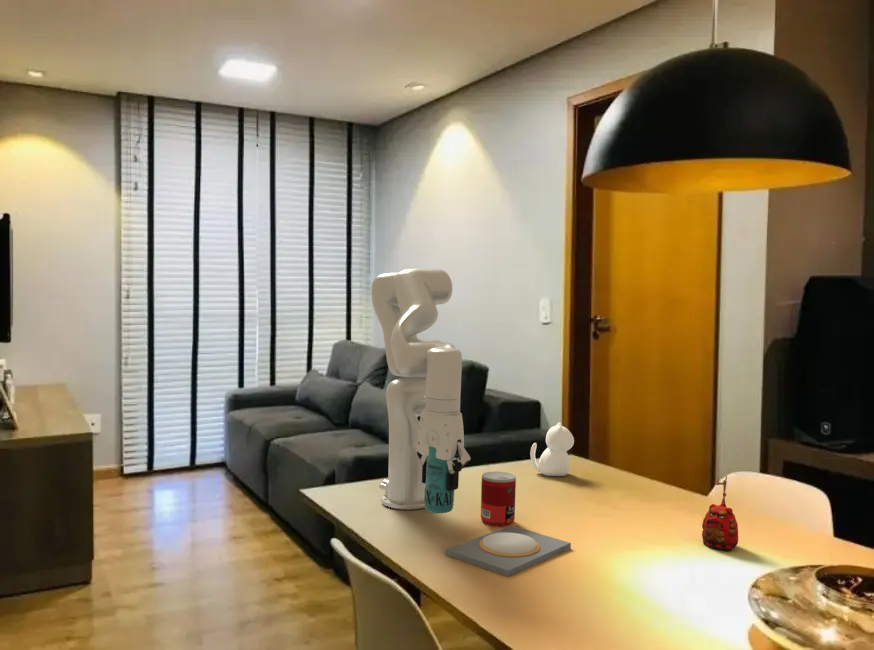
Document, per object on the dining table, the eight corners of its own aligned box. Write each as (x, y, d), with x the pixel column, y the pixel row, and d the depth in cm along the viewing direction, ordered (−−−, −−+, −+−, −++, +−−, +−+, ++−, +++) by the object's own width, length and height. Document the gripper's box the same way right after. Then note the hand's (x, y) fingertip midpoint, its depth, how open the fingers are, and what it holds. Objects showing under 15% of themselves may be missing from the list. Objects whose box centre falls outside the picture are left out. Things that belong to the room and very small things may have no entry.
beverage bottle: (426, 509, 172) (429, 421, 170) (455, 511, 172) (459, 423, 170) (421, 519, 166) (424, 427, 164) (452, 521, 165) (455, 430, 163)
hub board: (445, 554, 159) (445, 544, 159) (510, 530, 175) (510, 520, 175) (507, 576, 148) (508, 565, 148) (570, 548, 164) (571, 538, 164)
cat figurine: (573, 479, 221) (575, 427, 220) (529, 477, 222) (531, 425, 221) (571, 471, 230) (573, 421, 229) (529, 469, 231) (531, 419, 230)
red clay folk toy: (696, 545, 168) (699, 477, 167) (709, 537, 173) (712, 472, 172) (731, 554, 163) (735, 484, 162) (743, 546, 168) (746, 478, 167)
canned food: (512, 528, 177) (514, 480, 176) (478, 525, 178) (479, 478, 178) (516, 518, 184) (517, 472, 184) (482, 515, 186) (484, 470, 185)
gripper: (401, 400, 169) (399, 480, 171) (461, 414, 158) (458, 499, 160) (425, 396, 175) (422, 473, 177) (485, 409, 163) (481, 491, 165)
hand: (439, 485), depth 168 cm, fingers closed on beverage bottle, 6 cm apart
